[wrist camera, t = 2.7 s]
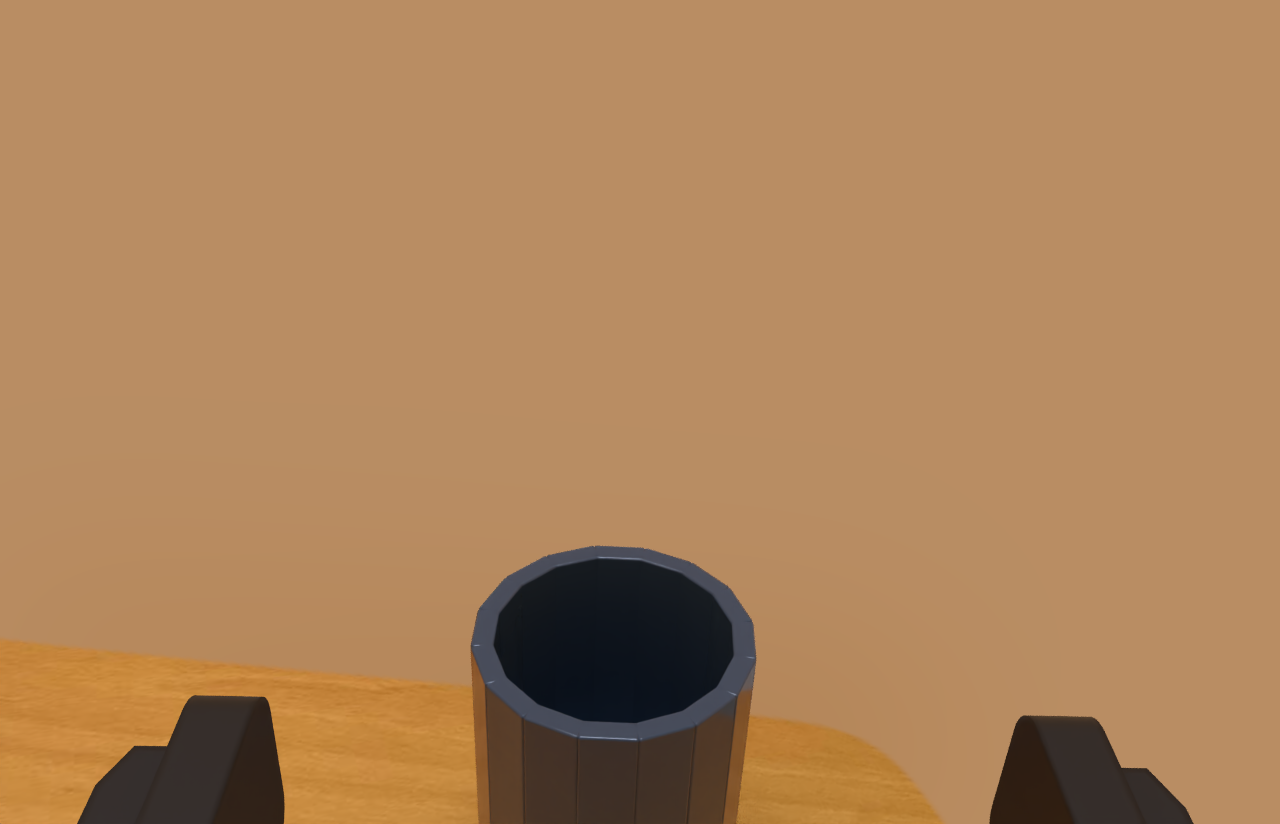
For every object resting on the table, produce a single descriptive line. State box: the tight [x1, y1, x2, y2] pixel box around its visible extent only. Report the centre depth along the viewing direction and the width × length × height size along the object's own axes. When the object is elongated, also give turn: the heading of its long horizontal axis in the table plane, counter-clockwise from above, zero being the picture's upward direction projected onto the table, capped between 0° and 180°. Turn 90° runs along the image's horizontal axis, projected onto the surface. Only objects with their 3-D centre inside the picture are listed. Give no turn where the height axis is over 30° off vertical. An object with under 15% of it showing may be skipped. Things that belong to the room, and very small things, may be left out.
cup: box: [471, 546, 756, 824], centre depth 29 cm, size 6×6×10 cm
